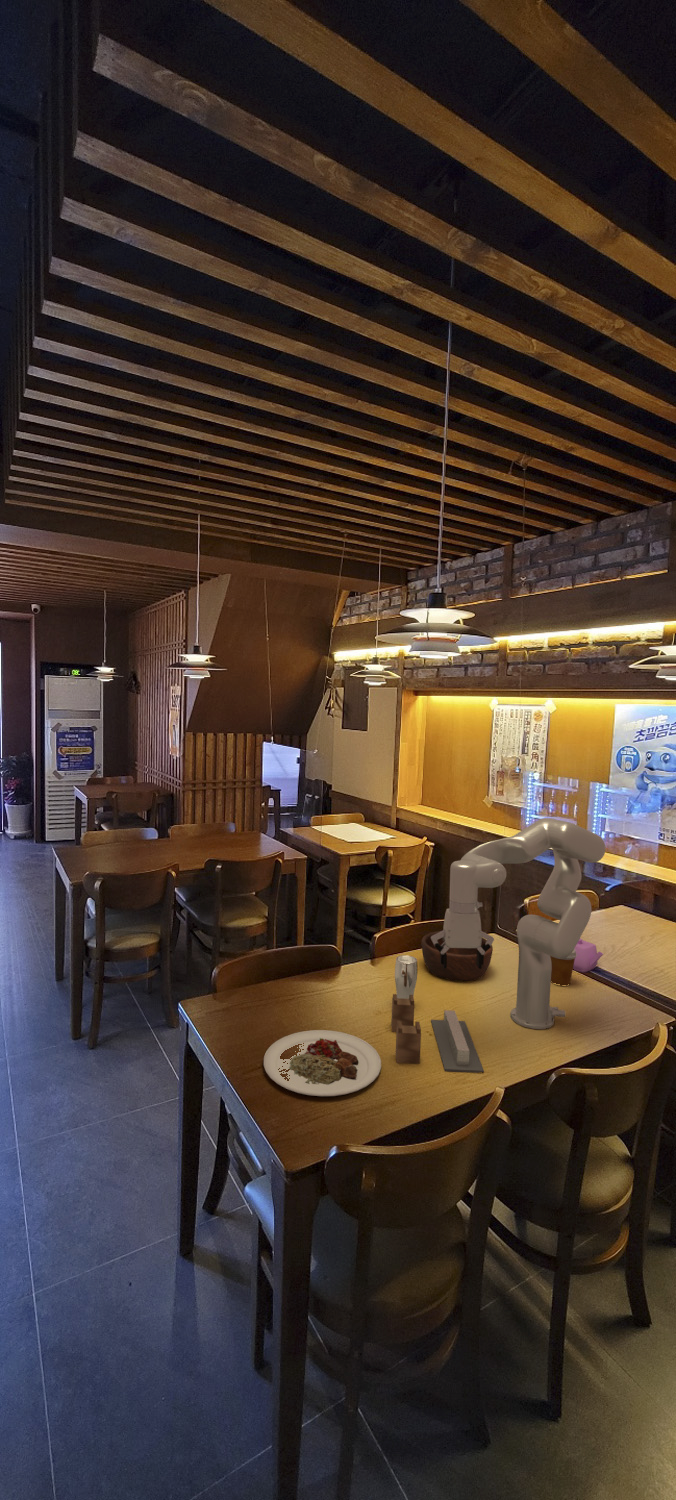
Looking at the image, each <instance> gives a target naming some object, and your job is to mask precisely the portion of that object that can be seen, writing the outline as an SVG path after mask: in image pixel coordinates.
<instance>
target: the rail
mask: <svg viewBox="0 0 676 1500" xmlns="http://www.w3.org/2000/svg"><path fill="white" fill-rule="evenodd" d="M443 1020H444V1026H445V1029H446V1032H447V1035H448V1038H449V1042H450V1045H451V1048H452V1051H453V1054H454V1058H455V1061H456V1064H457V1065H459V1066H469V1048H468V1046H467V1043H466V1040H465V1038H464V1035H463V1032H462V1029H461V1027H460V1024H459V1021H460V1020H459V1019H458V1017H457V1013H456V1011H455V1010H445V1009H444V1014H443Z"/></svg>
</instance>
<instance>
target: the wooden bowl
mask: <svg viewBox="0 0 676 1500" xmlns="http://www.w3.org/2000/svg"><path fill="white" fill-rule="evenodd" d="M441 931H442V930H439V931H438V930H437V931H433V932H428V933H427V934H425V935H424V936H423V937H422V939H421V952H422V958H423V961H424V963H425V967H426V969H428V971H429V972H430V973H431V974H433V975H434V976H437V977H439V978H441V979H445V980H448V981H454V982H472V981H476V980H479V979H481V978H482V977H484V975H485V974H486V973H487V971H488V969H489V967H490V964H491V960H492V955H493V951H494V950H493V949H494V948H493V947H494V946H493V944H492V945H491V946H490V948H489V949H488V950H487V951H486V952H485V954H484V961H483V965H482V967H481V969H479V968H478V966H477V964H476V960H477V951H478V949H477V948H449V949H448V950H447V951H446V954H447V968H446V969H444V968H443V965H442V964H440V952H439V951H438V950H437V949H436V947H435V946H434V944H433V942H432V940H431V936H433V935H435V934H437V933H439V932H441ZM437 942H438V943H439V944H440V945H442V944H443V943H444V941H443V937H442V938H440V939H438V940H437ZM486 942H487V939H485V938H483V937H482V943H481V946H483V945H484V944H485V943H486Z"/></svg>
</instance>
